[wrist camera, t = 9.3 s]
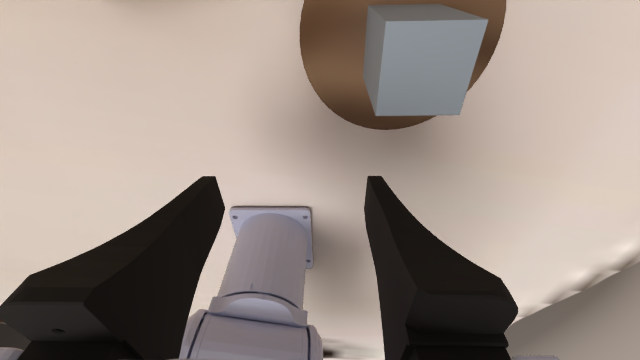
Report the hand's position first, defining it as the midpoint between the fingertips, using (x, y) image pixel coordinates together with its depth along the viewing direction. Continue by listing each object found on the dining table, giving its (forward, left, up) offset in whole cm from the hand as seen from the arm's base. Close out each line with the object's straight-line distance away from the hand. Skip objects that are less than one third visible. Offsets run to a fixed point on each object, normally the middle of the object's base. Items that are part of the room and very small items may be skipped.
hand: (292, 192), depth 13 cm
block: (+5, -6, -8) cm, 11 cm away
